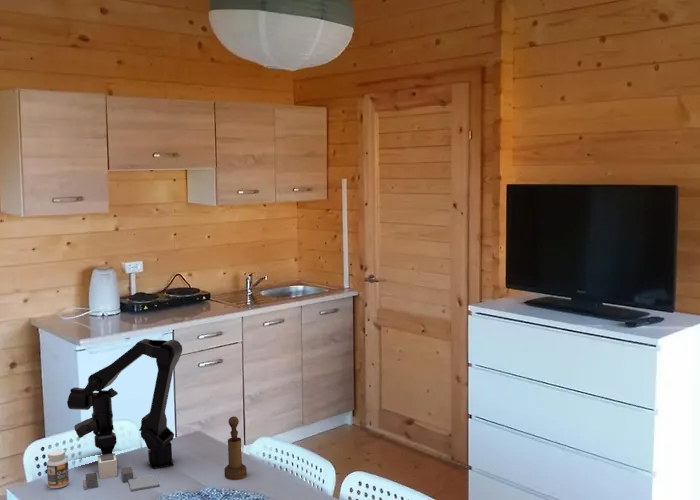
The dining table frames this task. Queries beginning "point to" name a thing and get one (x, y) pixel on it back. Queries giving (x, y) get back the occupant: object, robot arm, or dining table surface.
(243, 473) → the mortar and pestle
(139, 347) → the robot arm
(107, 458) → the beige open box
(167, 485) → the dining table surface
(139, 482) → the mat
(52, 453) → the pill bottle
